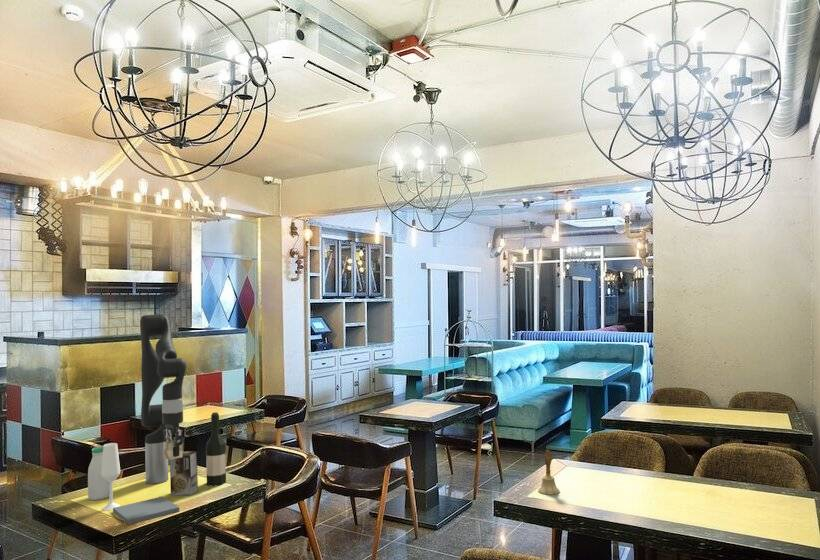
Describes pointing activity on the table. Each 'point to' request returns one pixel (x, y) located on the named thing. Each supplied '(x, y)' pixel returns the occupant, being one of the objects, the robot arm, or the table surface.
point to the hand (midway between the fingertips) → (173, 454)
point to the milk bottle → (97, 477)
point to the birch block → (171, 451)
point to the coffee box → (184, 474)
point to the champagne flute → (110, 470)
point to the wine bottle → (215, 454)
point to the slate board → (145, 510)
